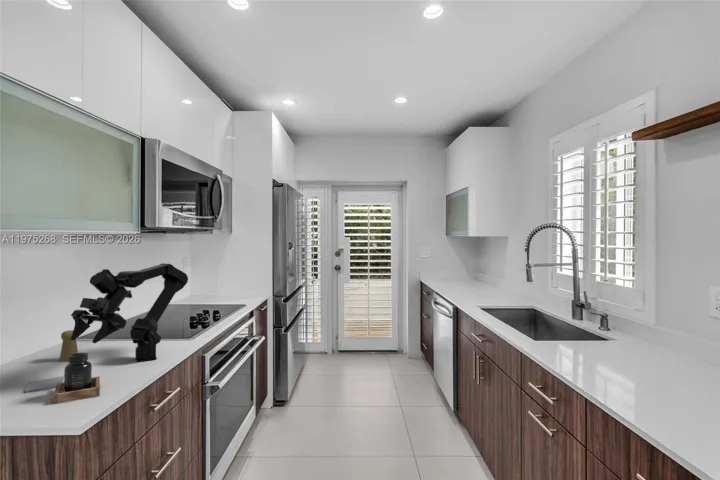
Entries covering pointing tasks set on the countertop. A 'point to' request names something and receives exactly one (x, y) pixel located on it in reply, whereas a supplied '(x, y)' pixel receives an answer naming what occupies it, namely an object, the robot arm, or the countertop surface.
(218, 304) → the countertop surface
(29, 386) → the slate mat
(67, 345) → the cork
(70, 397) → the walnut holder
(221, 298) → the countertop surface
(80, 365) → the supplement bottle
